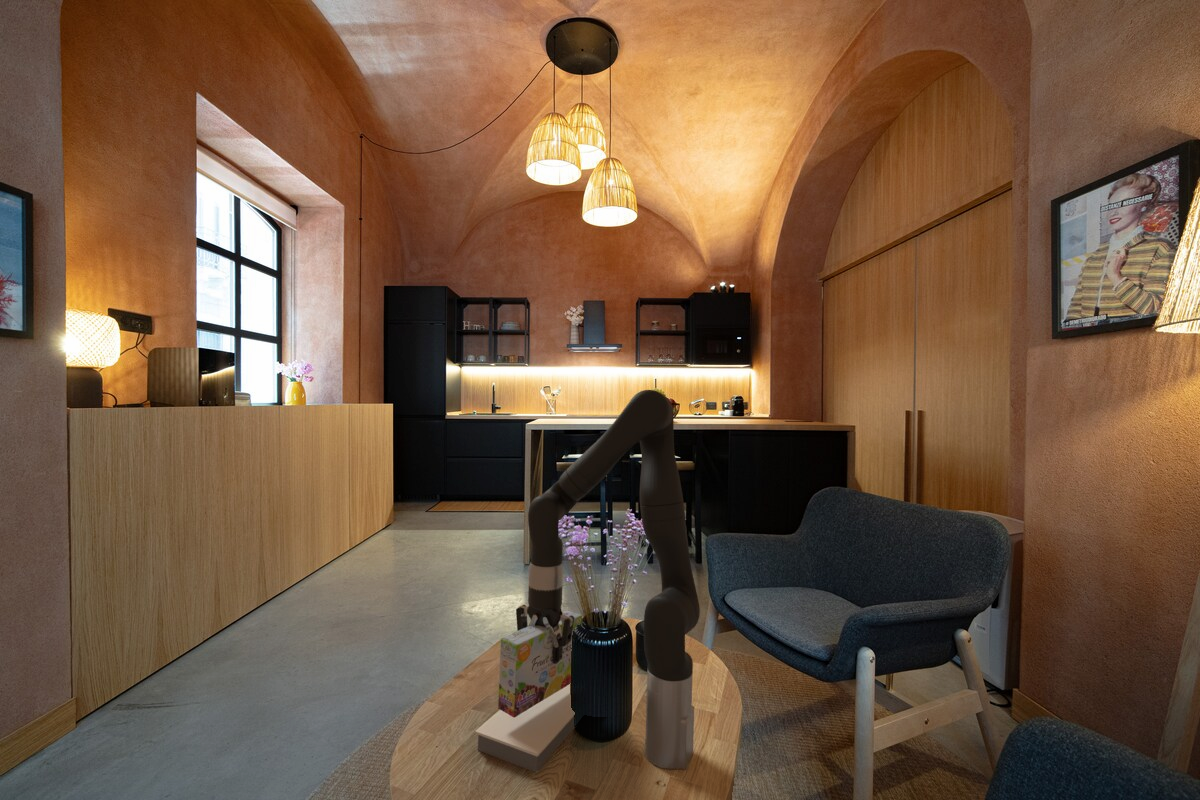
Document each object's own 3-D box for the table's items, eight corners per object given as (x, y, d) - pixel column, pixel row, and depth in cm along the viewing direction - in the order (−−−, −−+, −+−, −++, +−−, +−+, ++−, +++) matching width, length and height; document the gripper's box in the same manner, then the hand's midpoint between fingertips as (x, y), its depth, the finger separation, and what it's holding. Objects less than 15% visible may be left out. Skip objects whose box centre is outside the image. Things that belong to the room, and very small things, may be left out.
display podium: (597, 704, 124) (597, 687, 124) (537, 775, 100) (537, 754, 100) (543, 687, 130) (543, 671, 131) (474, 750, 106) (475, 731, 106)
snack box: (516, 720, 105) (517, 644, 105) (497, 710, 108) (498, 637, 109) (582, 678, 122) (583, 613, 122) (563, 670, 125) (564, 607, 126)
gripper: (582, 583, 116) (579, 659, 116) (527, 572, 122) (525, 644, 122) (565, 594, 109) (563, 674, 109) (509, 582, 115) (506, 658, 115)
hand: (543, 658), depth 115 cm, fingers closed on snack box, 6 cm apart
